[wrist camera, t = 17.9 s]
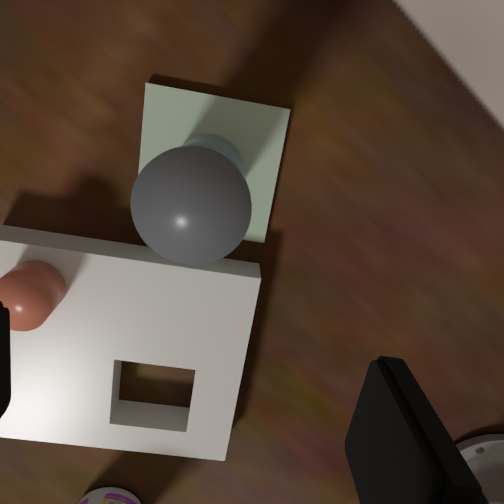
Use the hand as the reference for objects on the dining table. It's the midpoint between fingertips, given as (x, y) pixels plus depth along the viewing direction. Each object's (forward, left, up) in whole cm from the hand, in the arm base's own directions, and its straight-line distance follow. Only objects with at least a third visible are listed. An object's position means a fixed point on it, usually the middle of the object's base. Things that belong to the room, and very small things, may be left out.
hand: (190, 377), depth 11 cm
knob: (+12, +8, -21) cm, 26 cm away
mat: (+1, -2, -23) cm, 23 cm away
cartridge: (+1, -1, -22) cm, 22 cm away
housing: (+6, +14, -23) cm, 27 cm away
